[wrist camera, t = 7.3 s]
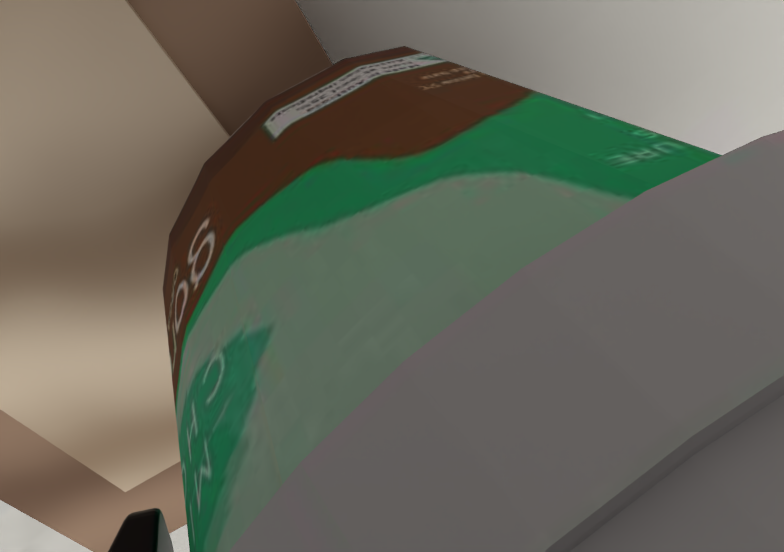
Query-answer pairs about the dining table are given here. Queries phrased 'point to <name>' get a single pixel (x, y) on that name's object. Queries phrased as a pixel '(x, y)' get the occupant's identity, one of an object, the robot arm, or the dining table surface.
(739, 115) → the dining table surface
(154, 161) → the walnut stand
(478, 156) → the food container
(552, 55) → the dining table surface
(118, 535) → the robot arm
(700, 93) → the dining table surface
